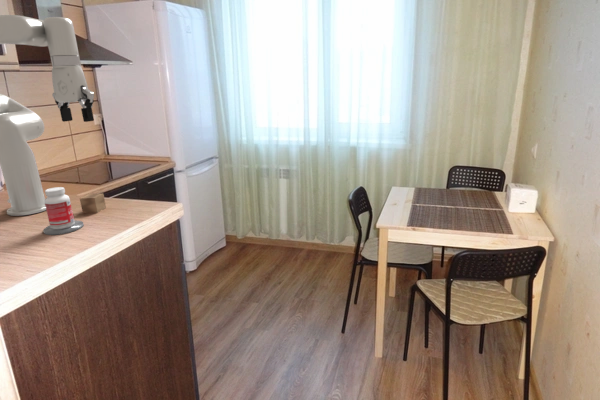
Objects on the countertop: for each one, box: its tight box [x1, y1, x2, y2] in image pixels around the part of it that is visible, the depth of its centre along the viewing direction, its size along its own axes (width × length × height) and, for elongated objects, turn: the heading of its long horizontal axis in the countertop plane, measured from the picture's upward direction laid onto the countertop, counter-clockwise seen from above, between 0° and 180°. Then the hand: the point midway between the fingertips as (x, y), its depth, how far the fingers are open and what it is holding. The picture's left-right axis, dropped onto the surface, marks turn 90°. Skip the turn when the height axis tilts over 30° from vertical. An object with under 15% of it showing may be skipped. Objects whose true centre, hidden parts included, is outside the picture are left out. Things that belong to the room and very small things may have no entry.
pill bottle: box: [44, 186, 75, 230], centre depth 113 cm, size 6×6×11 cm
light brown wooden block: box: [79, 193, 107, 214], centre depth 130 cm, size 5×5×5 cm
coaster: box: [42, 219, 85, 236], centre depth 115 cm, size 10×10×1 cm
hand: (78, 121), depth 125 cm, fingers open, 9 cm apart
